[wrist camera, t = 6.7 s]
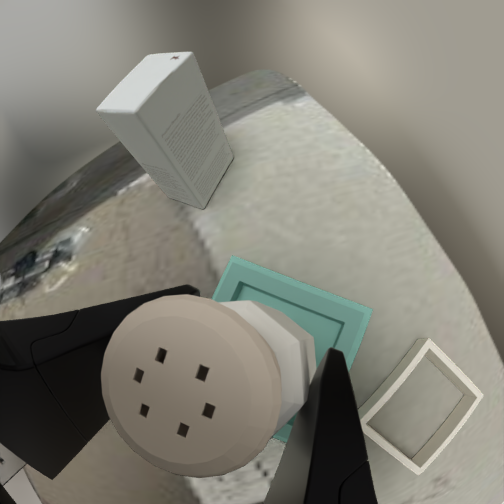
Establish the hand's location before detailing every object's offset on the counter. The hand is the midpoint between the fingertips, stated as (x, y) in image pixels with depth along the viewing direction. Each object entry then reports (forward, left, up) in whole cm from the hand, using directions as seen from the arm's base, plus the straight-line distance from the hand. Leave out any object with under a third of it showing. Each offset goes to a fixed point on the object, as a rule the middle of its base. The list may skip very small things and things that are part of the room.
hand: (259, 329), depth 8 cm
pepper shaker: (-1, 0, -7) cm, 7 cm away
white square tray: (-2, -11, -12) cm, 17 cm away
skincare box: (+11, +12, -12) cm, 20 cm away
